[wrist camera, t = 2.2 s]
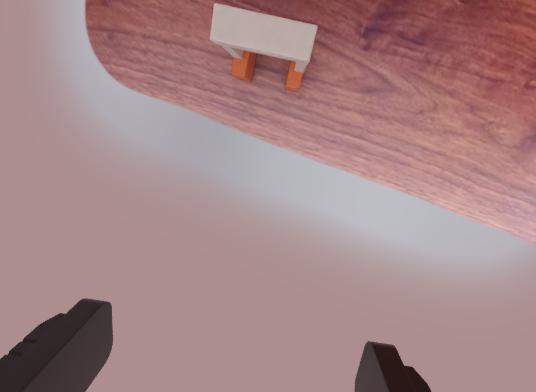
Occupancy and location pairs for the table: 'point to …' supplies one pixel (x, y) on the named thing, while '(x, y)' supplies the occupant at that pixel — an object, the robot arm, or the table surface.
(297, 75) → the orange tipped u frame
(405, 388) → the robot arm
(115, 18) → the table surface
